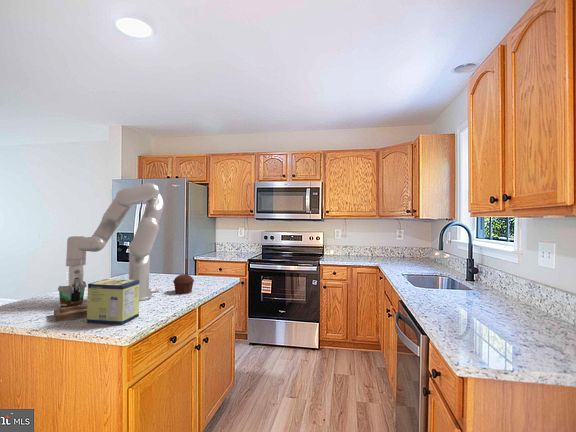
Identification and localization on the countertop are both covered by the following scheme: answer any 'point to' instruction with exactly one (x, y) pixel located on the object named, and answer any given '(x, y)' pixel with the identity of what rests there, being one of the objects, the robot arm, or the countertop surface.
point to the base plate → (70, 313)
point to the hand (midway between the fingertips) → (74, 299)
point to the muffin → (183, 284)
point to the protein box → (113, 301)
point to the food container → (66, 296)
